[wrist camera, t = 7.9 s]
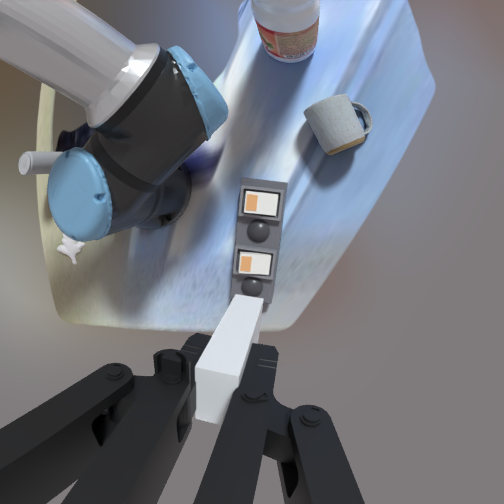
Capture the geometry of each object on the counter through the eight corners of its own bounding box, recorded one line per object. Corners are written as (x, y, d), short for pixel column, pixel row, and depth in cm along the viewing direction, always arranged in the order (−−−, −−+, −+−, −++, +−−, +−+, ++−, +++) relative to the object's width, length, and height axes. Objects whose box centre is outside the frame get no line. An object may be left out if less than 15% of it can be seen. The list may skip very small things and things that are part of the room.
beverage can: (54, 170, 53) (16, 173, 41) (58, 150, 52) (20, 150, 40) (66, 174, 53) (28, 177, 41) (70, 153, 51) (32, 153, 40)
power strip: (234, 289, 52) (229, 299, 48) (245, 178, 47) (240, 177, 43) (272, 295, 52) (270, 306, 47) (287, 182, 46) (286, 182, 42)
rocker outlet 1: (244, 211, 44) (243, 212, 43) (246, 190, 43) (246, 191, 42) (275, 214, 44) (275, 215, 43) (277, 194, 43) (278, 194, 42)
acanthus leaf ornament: (59, 248, 58) (54, 250, 56) (67, 225, 56) (61, 226, 55) (78, 267, 58) (73, 269, 57) (86, 243, 56) (81, 245, 55)
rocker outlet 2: (238, 271, 46) (238, 273, 45) (240, 251, 45) (240, 253, 44) (267, 272, 47) (268, 274, 46) (269, 253, 46) (271, 255, 45)
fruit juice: (306, 71, 41) (308, -31, 14) (255, 55, 42) (210, -45, 15) (323, 32, 38) (335, -74, 12) (274, 18, 39) (248, -87, 12)
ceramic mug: (324, 160, 45) (330, 155, 37) (302, 116, 43) (303, 105, 36) (378, 137, 42) (393, 129, 35) (356, 94, 41) (366, 80, 34)
